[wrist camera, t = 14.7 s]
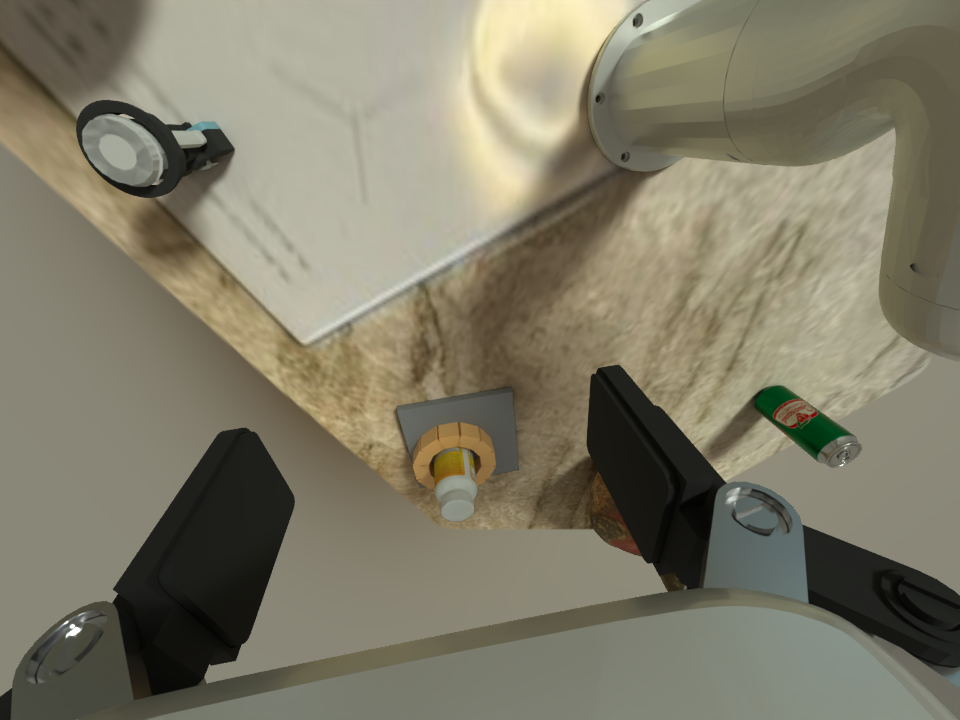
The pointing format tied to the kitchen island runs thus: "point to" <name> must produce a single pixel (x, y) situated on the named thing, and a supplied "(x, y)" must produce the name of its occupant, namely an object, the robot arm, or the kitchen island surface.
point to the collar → (450, 438)
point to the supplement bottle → (455, 483)
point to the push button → (145, 147)
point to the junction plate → (475, 409)
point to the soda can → (807, 426)
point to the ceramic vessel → (617, 527)
